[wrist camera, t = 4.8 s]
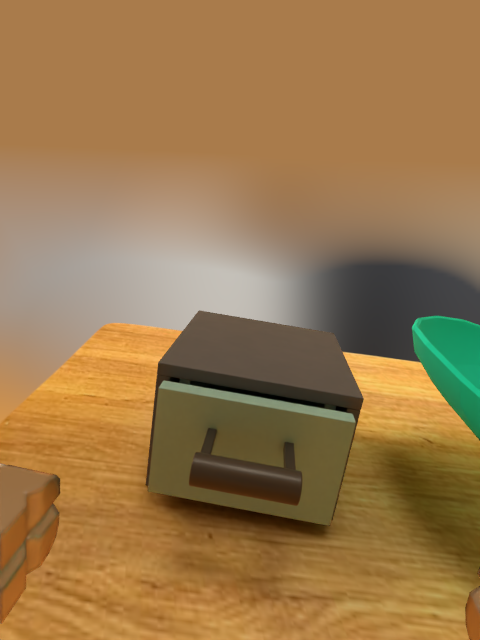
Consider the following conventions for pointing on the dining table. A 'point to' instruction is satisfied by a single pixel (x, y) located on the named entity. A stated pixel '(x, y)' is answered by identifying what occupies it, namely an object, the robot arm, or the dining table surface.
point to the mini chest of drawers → (261, 363)
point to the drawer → (249, 450)
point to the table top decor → (452, 362)
